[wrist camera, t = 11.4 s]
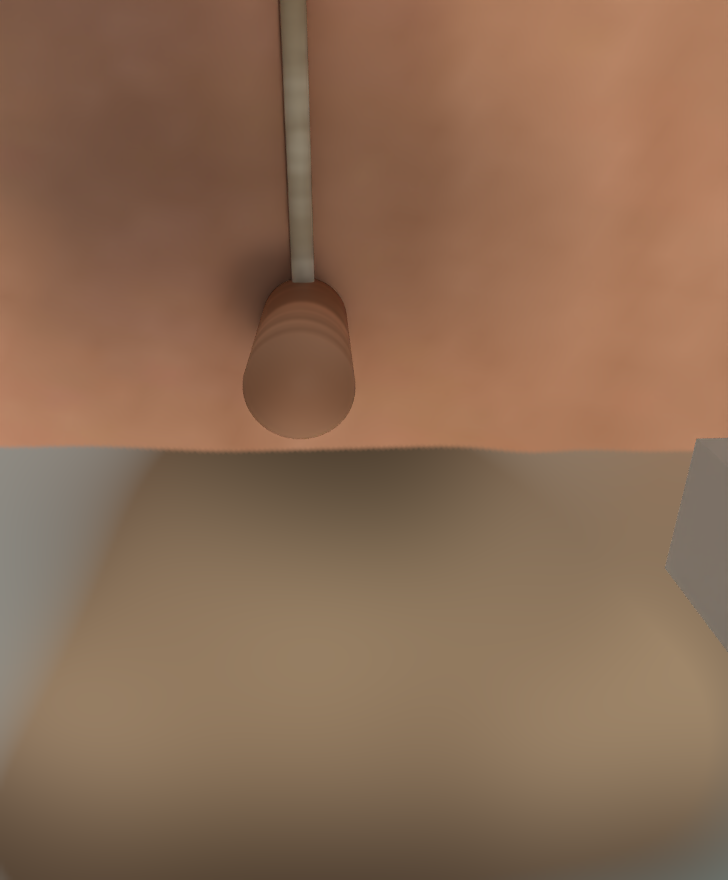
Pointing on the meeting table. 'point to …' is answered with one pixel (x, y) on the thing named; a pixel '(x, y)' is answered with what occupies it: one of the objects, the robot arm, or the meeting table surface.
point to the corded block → (300, 288)
